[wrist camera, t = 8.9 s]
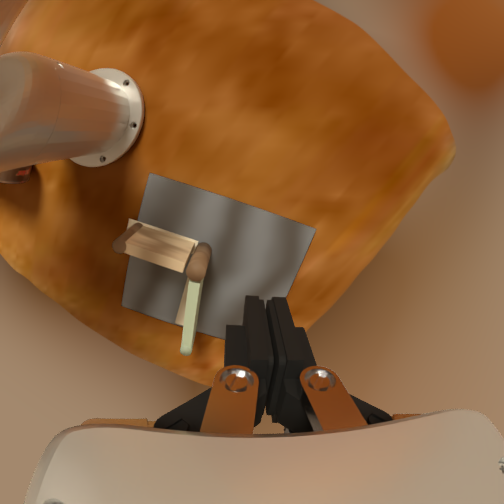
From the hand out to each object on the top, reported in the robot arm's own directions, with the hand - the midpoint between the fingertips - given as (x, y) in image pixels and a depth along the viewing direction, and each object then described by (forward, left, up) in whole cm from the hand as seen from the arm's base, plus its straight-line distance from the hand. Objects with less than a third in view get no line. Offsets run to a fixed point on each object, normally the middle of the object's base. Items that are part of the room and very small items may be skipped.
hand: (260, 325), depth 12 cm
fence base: (-3, -9, -24) cm, 26 cm away
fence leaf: (-3, -13, -23) cm, 27 cm away
